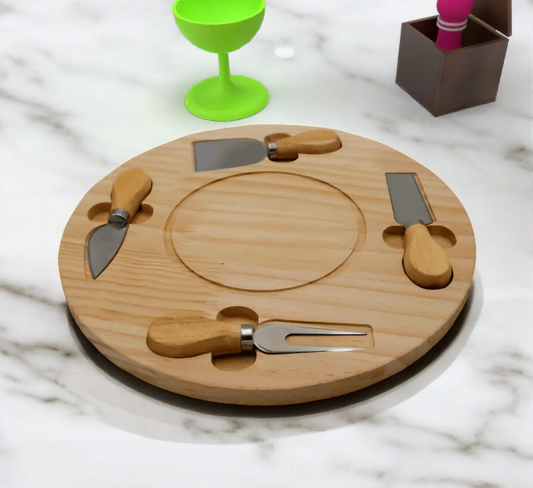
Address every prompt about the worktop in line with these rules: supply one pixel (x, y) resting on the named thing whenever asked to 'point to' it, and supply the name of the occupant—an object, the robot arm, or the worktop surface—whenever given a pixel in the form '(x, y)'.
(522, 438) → the worktop surface
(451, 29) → the pepper mill
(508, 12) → the lid
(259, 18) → the wineglass
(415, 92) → the chest
